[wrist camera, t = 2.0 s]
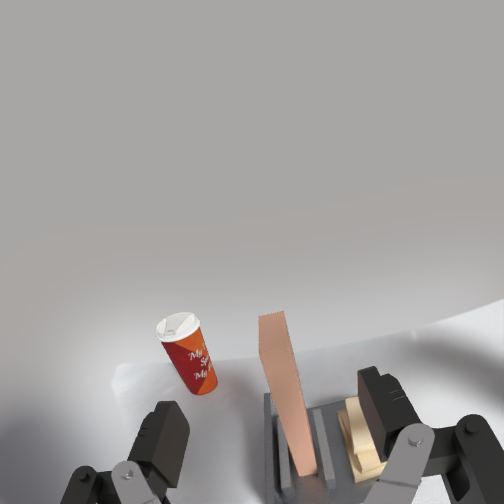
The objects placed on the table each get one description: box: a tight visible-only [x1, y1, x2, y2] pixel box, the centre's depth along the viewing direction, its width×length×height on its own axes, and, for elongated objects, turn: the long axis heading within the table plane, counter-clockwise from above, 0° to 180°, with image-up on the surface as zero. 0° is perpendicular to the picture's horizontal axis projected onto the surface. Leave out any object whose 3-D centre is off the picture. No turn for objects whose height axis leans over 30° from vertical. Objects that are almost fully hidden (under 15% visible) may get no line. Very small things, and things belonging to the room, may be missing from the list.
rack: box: [264, 393, 421, 504], centre depth 26 cm, size 17×16×6 cm
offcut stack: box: [337, 396, 387, 483], centre depth 26 cm, size 11×6×5 cm, turn 179°
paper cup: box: [156, 312, 217, 395], centre depth 46 cm, size 8×8×14 cm
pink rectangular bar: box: [259, 311, 318, 476], centre depth 25 cm, size 6×2×20 cm, turn 0°
